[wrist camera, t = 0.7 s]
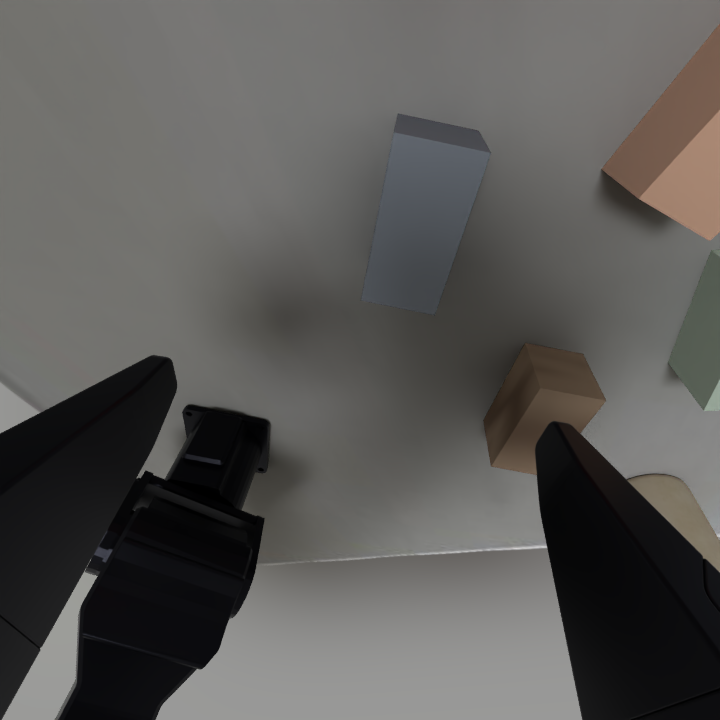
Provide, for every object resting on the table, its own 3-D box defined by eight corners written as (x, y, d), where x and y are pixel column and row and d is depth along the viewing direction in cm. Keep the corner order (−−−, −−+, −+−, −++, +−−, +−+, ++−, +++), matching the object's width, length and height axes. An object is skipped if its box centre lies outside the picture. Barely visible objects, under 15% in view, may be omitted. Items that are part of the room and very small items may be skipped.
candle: (657, 463, 29) (741, 619, 22) (703, 492, 31) (798, 647, 23) (591, 495, 32) (644, 640, 25) (636, 520, 34) (699, 664, 26)
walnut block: (531, 427, 29) (545, 476, 25) (483, 418, 28) (491, 466, 25) (582, 352, 24) (606, 400, 21) (524, 341, 24) (540, 388, 21)
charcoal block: (432, 274, 22) (434, 315, 19) (368, 261, 22) (360, 300, 19) (478, 130, 17) (490, 153, 14) (398, 112, 17) (393, 132, 14)
